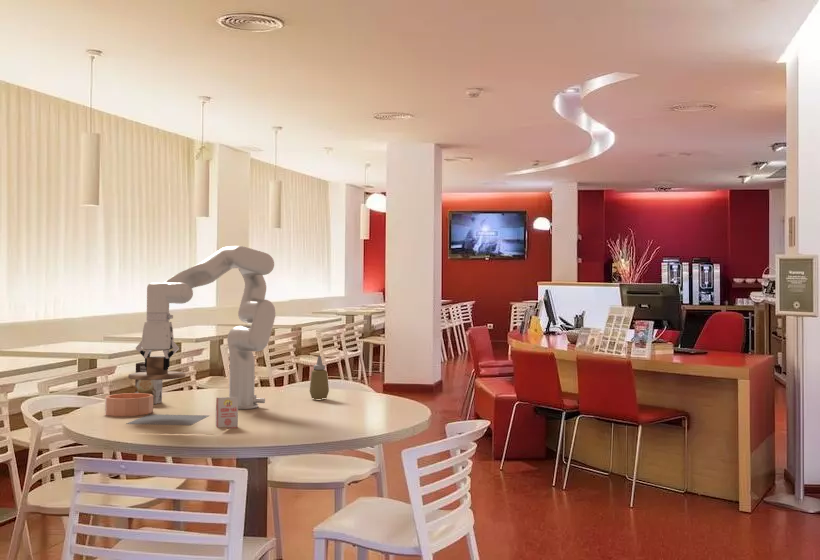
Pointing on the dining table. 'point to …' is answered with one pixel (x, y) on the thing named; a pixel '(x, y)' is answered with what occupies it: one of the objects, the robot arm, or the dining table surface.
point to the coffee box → (148, 385)
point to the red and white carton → (227, 412)
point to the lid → (156, 371)
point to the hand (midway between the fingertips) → (157, 369)
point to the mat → (169, 419)
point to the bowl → (128, 404)
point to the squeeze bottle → (319, 381)
